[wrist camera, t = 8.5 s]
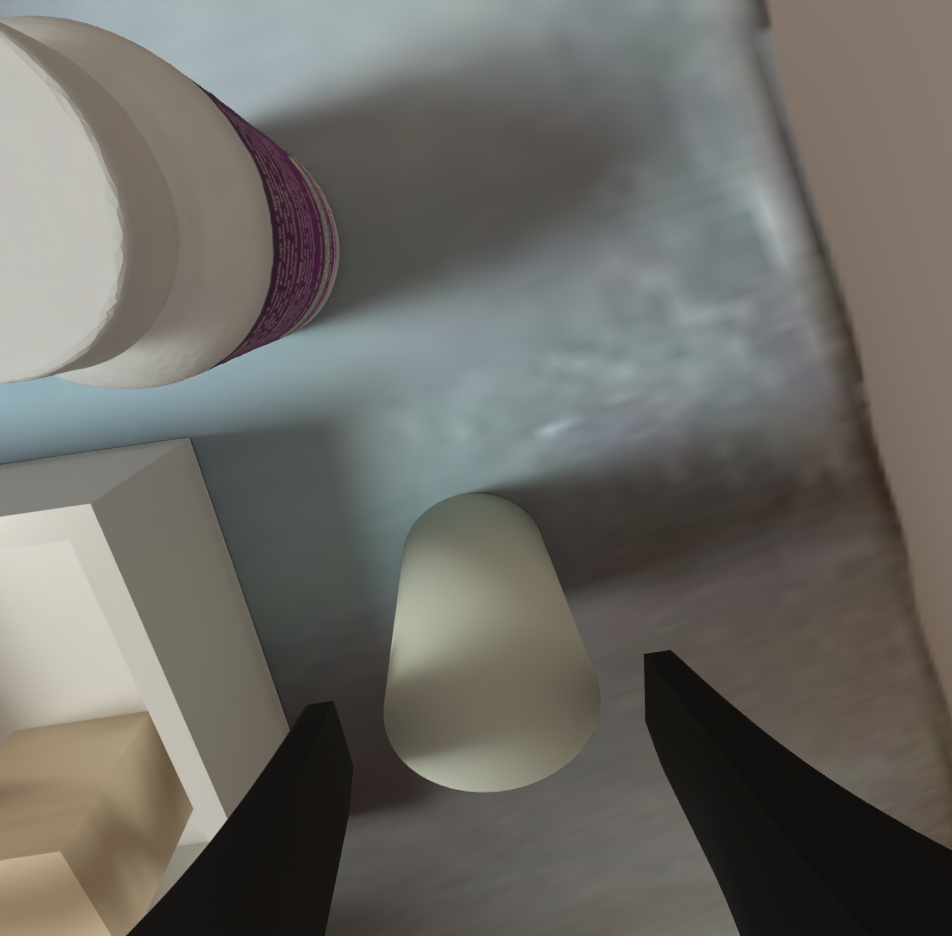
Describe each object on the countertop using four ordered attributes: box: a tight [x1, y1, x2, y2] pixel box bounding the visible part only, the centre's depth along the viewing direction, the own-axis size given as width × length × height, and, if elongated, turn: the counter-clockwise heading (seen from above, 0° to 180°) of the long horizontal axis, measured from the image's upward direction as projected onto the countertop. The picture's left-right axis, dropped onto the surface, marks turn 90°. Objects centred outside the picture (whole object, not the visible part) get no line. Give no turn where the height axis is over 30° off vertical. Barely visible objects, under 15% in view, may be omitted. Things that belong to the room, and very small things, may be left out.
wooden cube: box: [0, 711, 193, 936], centre depth 18 cm, size 5×5×5 cm
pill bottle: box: [0, 16, 340, 389], centre depth 10 cm, size 5×5×10 cm
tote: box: [0, 437, 290, 914], centre depth 17 cm, size 18×14×5 cm
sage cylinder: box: [384, 493, 600, 792], centre depth 15 cm, size 5×5×7 cm
